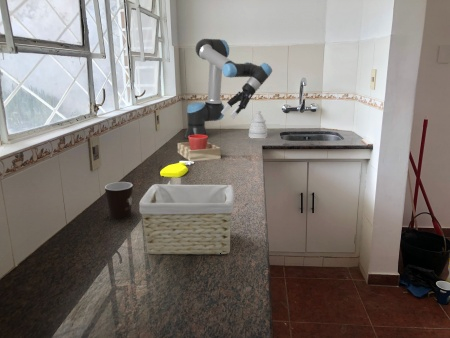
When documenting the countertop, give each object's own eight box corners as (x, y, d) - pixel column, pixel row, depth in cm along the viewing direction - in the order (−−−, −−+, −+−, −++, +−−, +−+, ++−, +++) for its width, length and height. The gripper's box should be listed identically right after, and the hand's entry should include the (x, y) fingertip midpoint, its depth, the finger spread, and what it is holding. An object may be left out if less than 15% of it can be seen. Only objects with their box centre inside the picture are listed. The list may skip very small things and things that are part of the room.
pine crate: (177, 152, 208) (177, 143, 206) (205, 150, 215) (205, 140, 213) (190, 161, 189) (190, 151, 187) (220, 158, 195) (220, 148, 194)
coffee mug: (120, 222, 114) (117, 192, 111) (101, 216, 119) (98, 187, 116) (146, 210, 124) (144, 182, 121) (128, 205, 128) (126, 178, 125)
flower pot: (209, 151, 206) (209, 134, 204) (206, 156, 196) (206, 138, 193) (190, 151, 207) (190, 134, 205) (186, 155, 197) (186, 137, 194)
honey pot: (268, 138, 249) (268, 112, 244) (249, 138, 249) (249, 112, 245) (266, 135, 262) (267, 110, 257) (248, 135, 262) (248, 110, 257)
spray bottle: (158, 177, 163) (176, 164, 186) (181, 178, 161) (197, 165, 184) (157, 170, 162) (176, 158, 185) (181, 172, 160) (197, 159, 183)
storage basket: (140, 256, 94) (136, 202, 90) (154, 229, 109) (151, 182, 105) (233, 258, 93) (234, 204, 89) (234, 231, 109) (234, 183, 105)
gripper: (265, 93, 198) (240, 123, 197) (245, 90, 220) (223, 116, 219) (257, 83, 195) (231, 113, 194) (237, 81, 217) (214, 108, 216)
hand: (227, 115), depth 206 cm, fingers open, 13 cm apart
